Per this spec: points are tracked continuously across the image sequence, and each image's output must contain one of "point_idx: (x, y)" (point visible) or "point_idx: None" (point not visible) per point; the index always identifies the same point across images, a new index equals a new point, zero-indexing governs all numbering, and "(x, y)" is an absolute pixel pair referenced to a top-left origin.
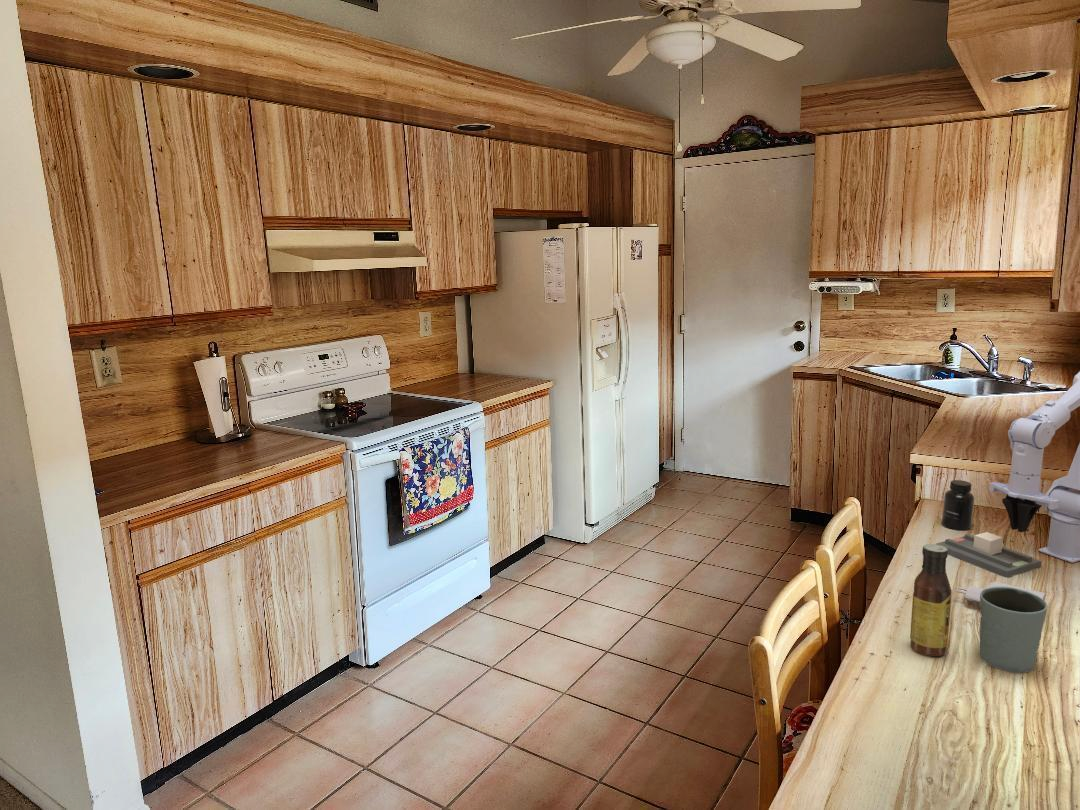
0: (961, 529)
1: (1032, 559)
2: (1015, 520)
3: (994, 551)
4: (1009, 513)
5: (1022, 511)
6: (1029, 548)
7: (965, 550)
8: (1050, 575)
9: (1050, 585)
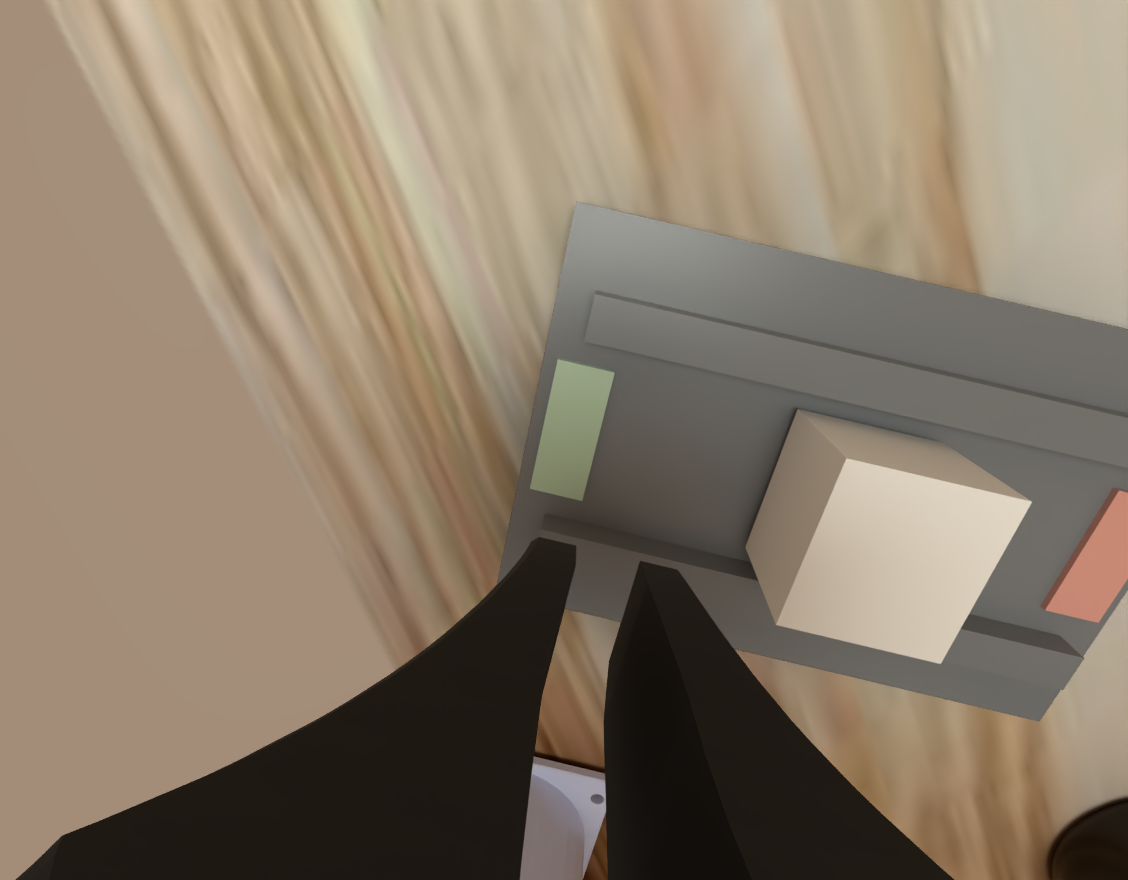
0: (1099, 816)
1: None
2: (646, 682)
3: (781, 480)
4: (775, 741)
5: (377, 776)
6: None
7: (994, 384)
8: (412, 483)
9: (332, 317)
